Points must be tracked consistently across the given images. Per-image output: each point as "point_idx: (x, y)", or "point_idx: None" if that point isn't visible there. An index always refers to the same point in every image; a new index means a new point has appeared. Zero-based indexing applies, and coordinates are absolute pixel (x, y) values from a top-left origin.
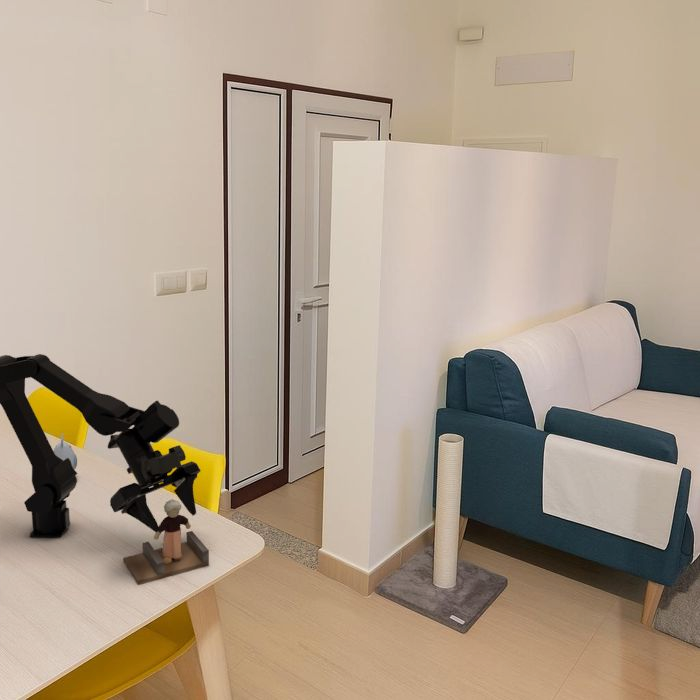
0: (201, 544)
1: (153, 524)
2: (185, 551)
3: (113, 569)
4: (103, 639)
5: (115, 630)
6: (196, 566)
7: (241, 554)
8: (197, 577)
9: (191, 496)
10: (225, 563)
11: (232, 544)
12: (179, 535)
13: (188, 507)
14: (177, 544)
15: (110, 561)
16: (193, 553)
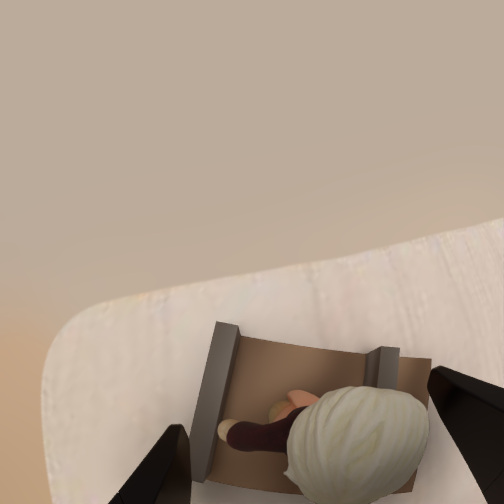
0: (211, 373)
1: (468, 377)
2: None
3: (440, 460)
4: (495, 230)
5: (482, 237)
6: (262, 340)
7: (119, 320)
8: (285, 301)
9: (134, 498)
10: (180, 312)
11: (101, 380)
12: (297, 401)
13: (184, 483)
14: (307, 394)
15: (427, 500)
16: (230, 406)
